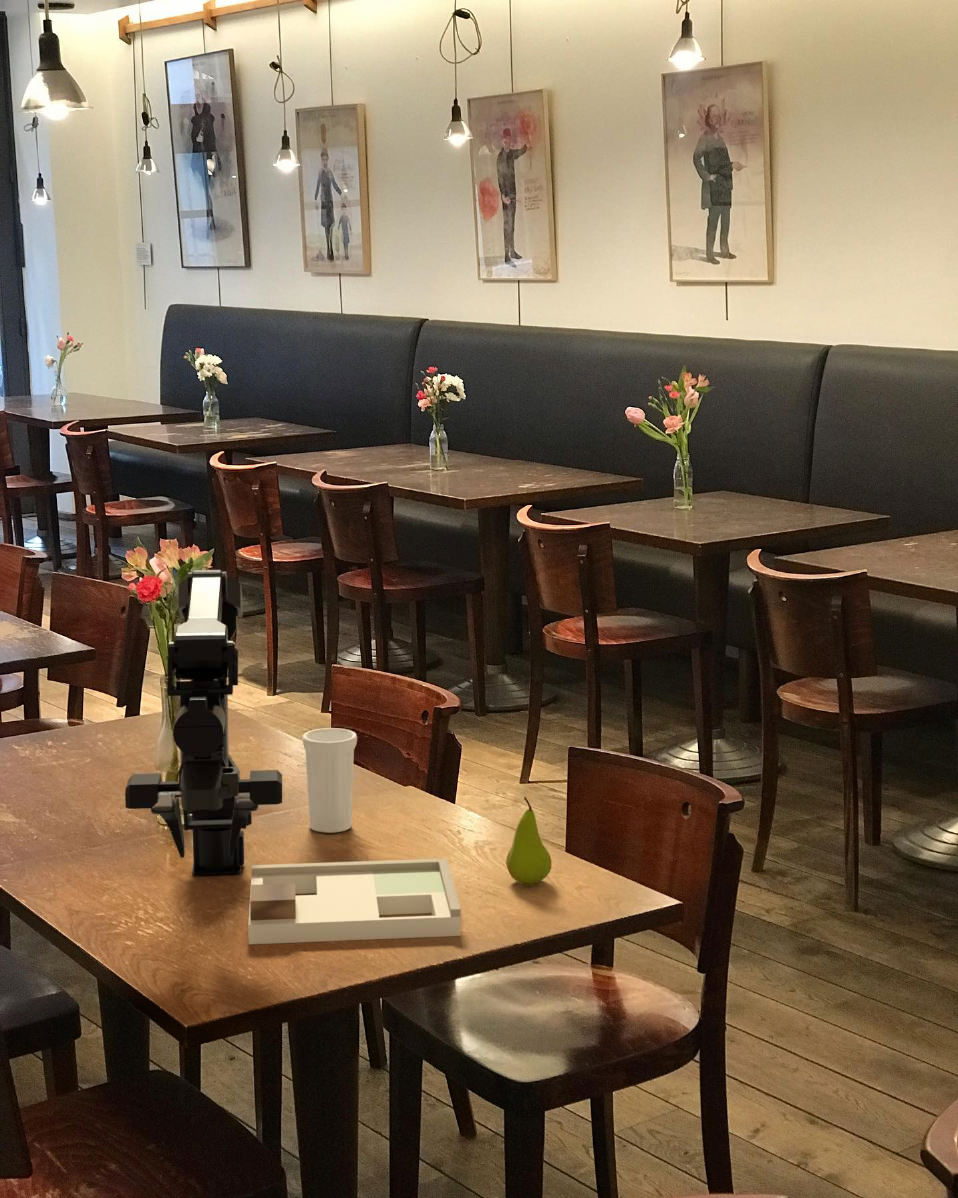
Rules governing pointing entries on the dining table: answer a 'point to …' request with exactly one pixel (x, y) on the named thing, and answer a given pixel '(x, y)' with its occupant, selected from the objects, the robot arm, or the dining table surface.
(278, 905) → the walnut block
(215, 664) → the robot arm
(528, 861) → the fruit
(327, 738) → the cup
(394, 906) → the box
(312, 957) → the dining table surface
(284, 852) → the dining table surface
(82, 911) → the dining table surface
